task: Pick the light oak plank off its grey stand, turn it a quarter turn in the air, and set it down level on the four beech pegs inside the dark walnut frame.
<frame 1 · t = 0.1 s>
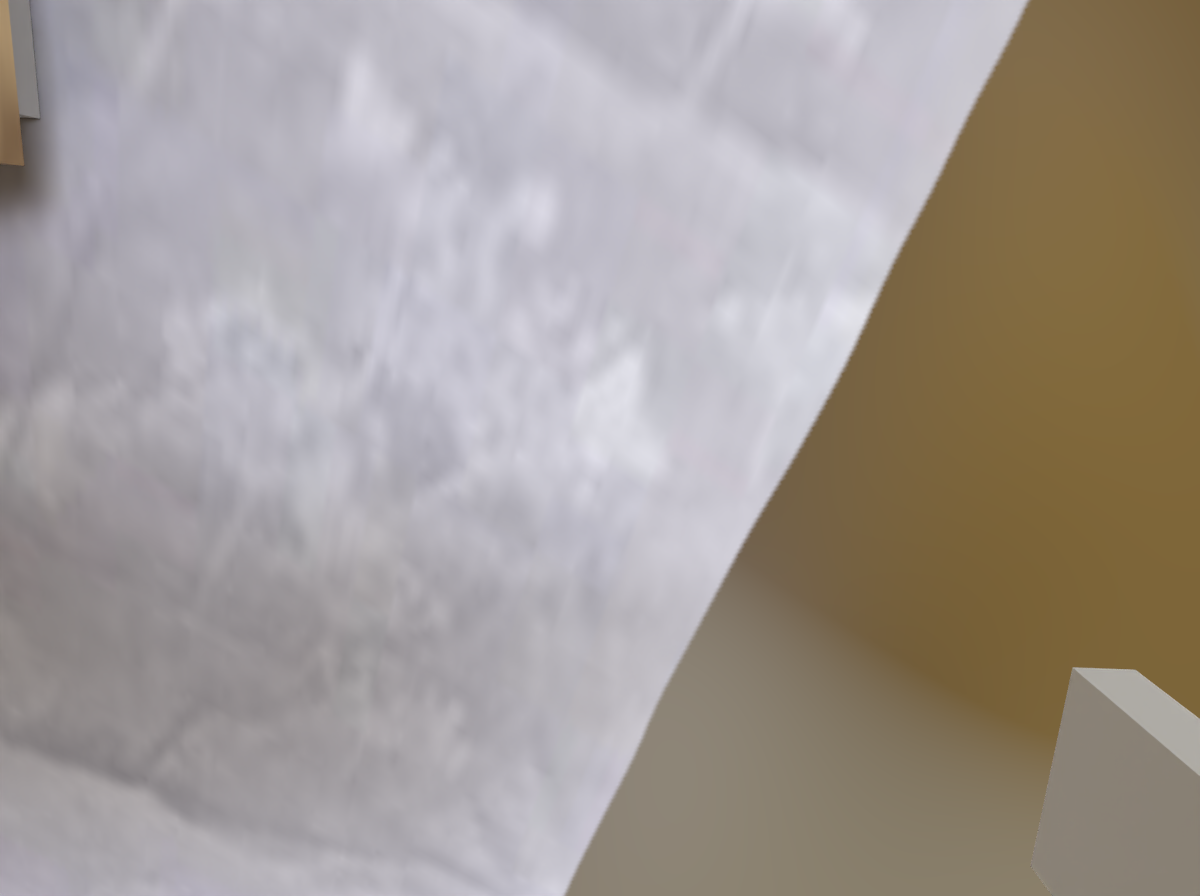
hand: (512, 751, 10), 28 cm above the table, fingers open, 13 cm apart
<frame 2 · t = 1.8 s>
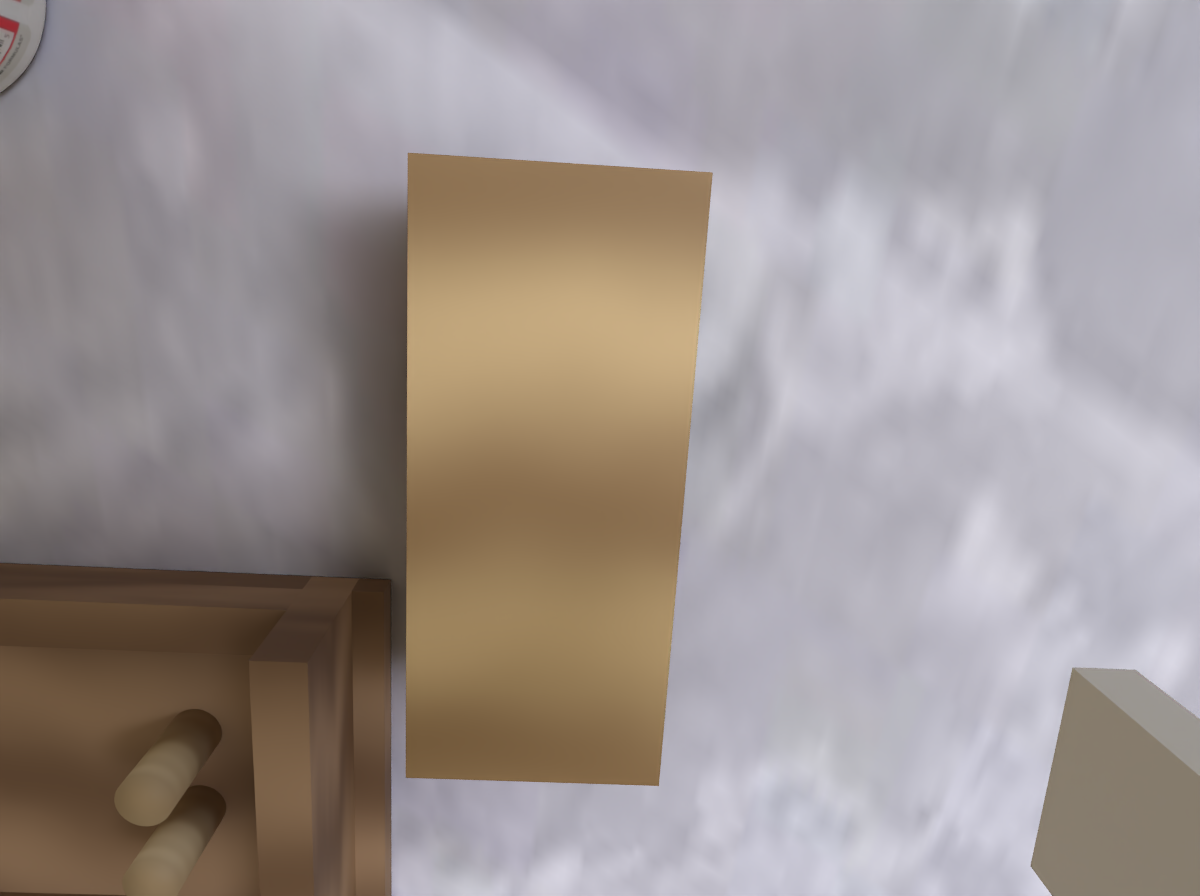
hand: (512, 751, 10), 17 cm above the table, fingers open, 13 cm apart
plank: (550, 454, 22), point 4 cm above the table, touching stand
peg frame: (59, 745, 28), on the table
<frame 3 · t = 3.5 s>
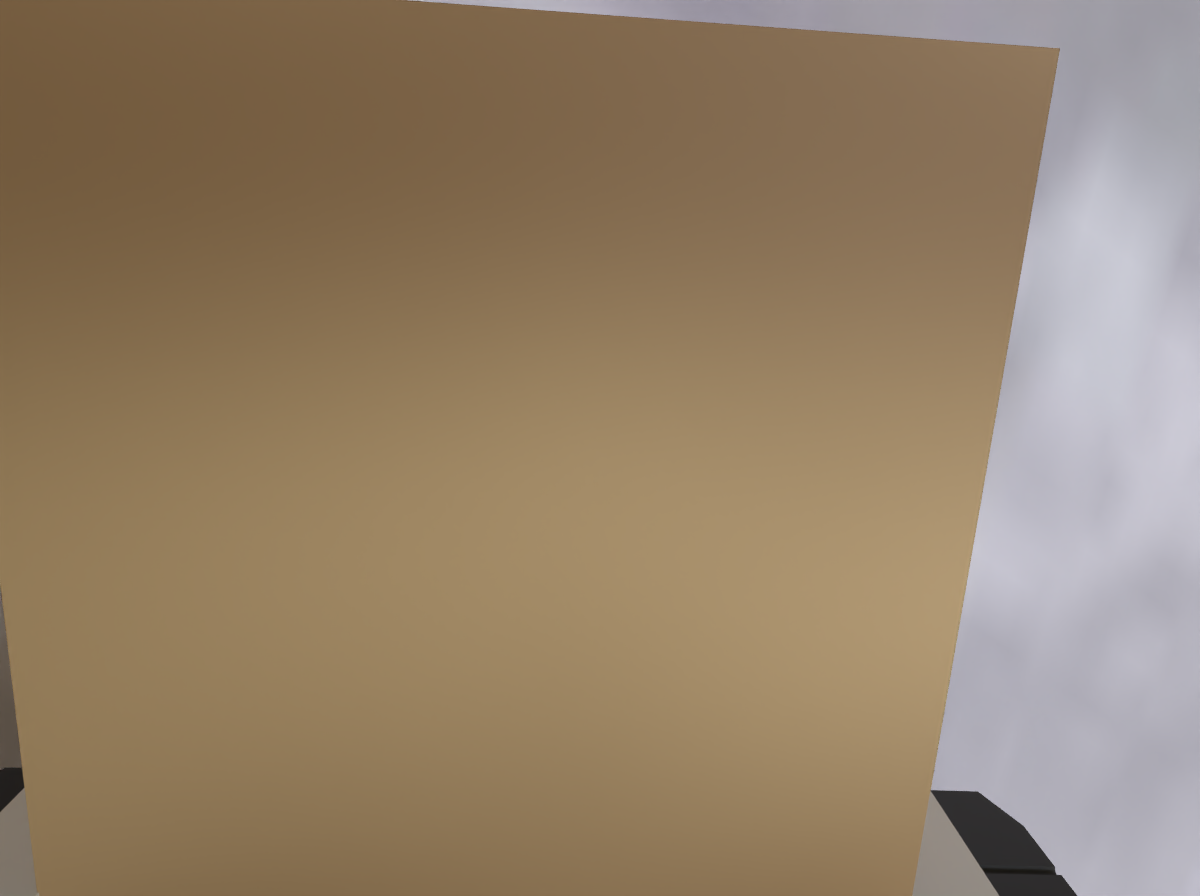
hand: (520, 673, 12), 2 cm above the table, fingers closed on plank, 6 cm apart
plank: (513, 740, 10), point 4 cm above the table, touching gripper, stand
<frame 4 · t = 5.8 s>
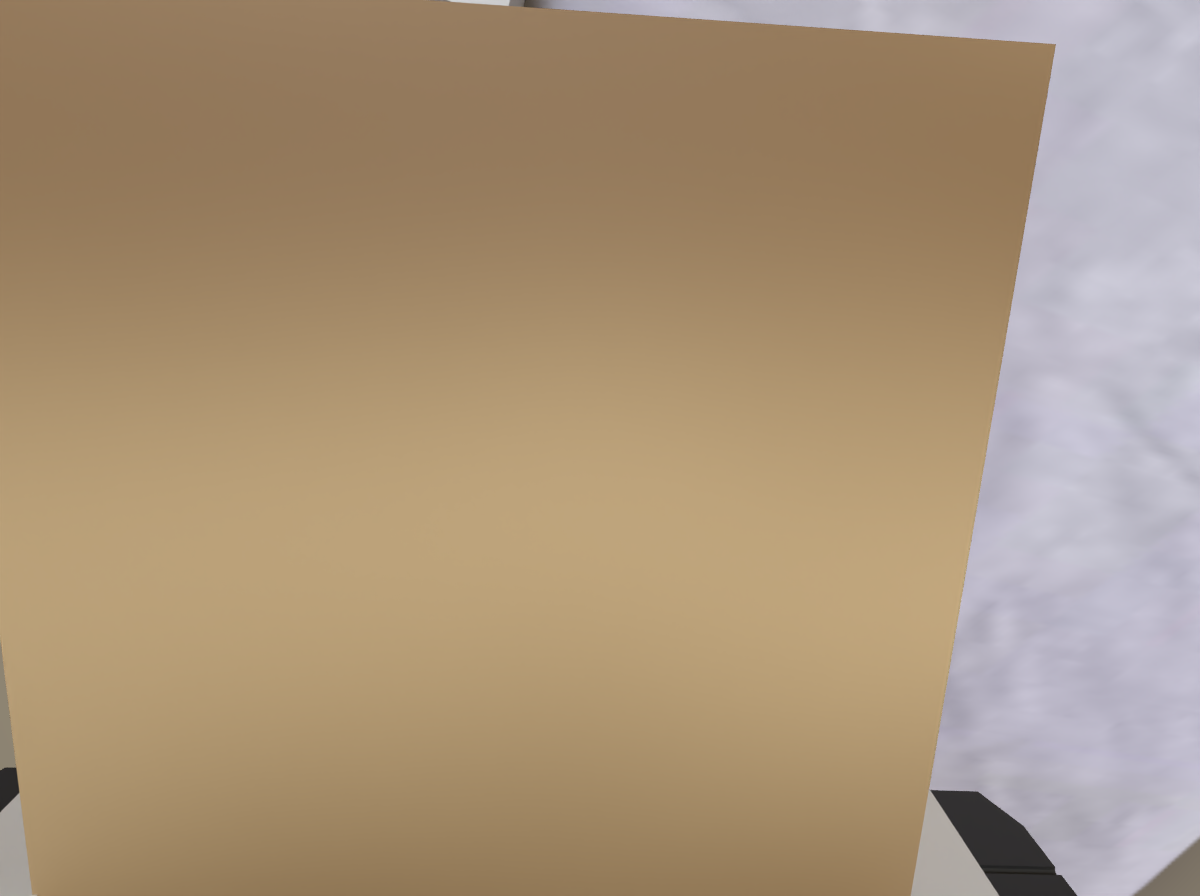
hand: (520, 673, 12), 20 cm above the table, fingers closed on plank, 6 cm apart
plank: (512, 741, 10), point 21 cm above the table, touching gripper
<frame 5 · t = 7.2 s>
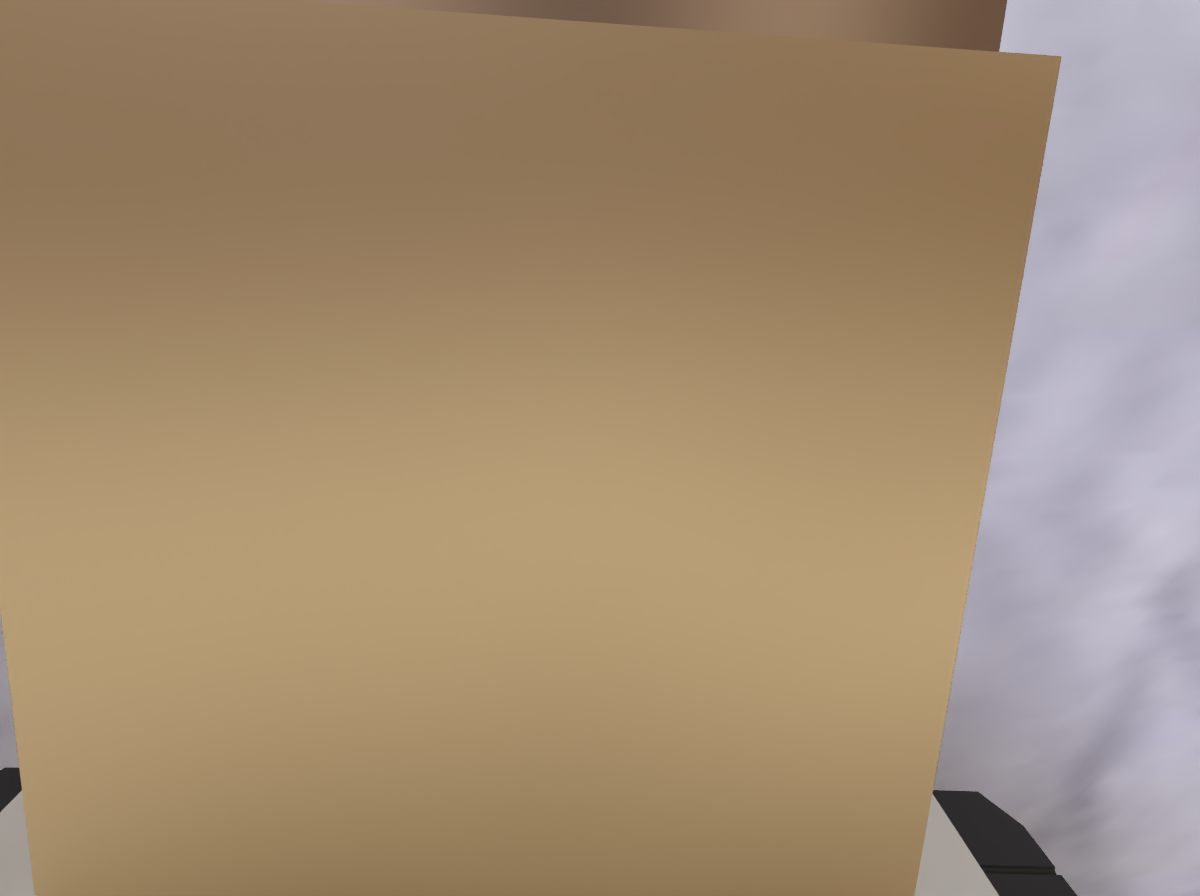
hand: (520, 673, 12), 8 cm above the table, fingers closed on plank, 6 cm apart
plank: (513, 745, 10), point 10 cm above the table, touching gripper
peg frame: (538, 496, 19), on the table
when the fingers open (5 cm above the table, at t = 8.2 s): plank drops 2 cm, resting on peg frame.
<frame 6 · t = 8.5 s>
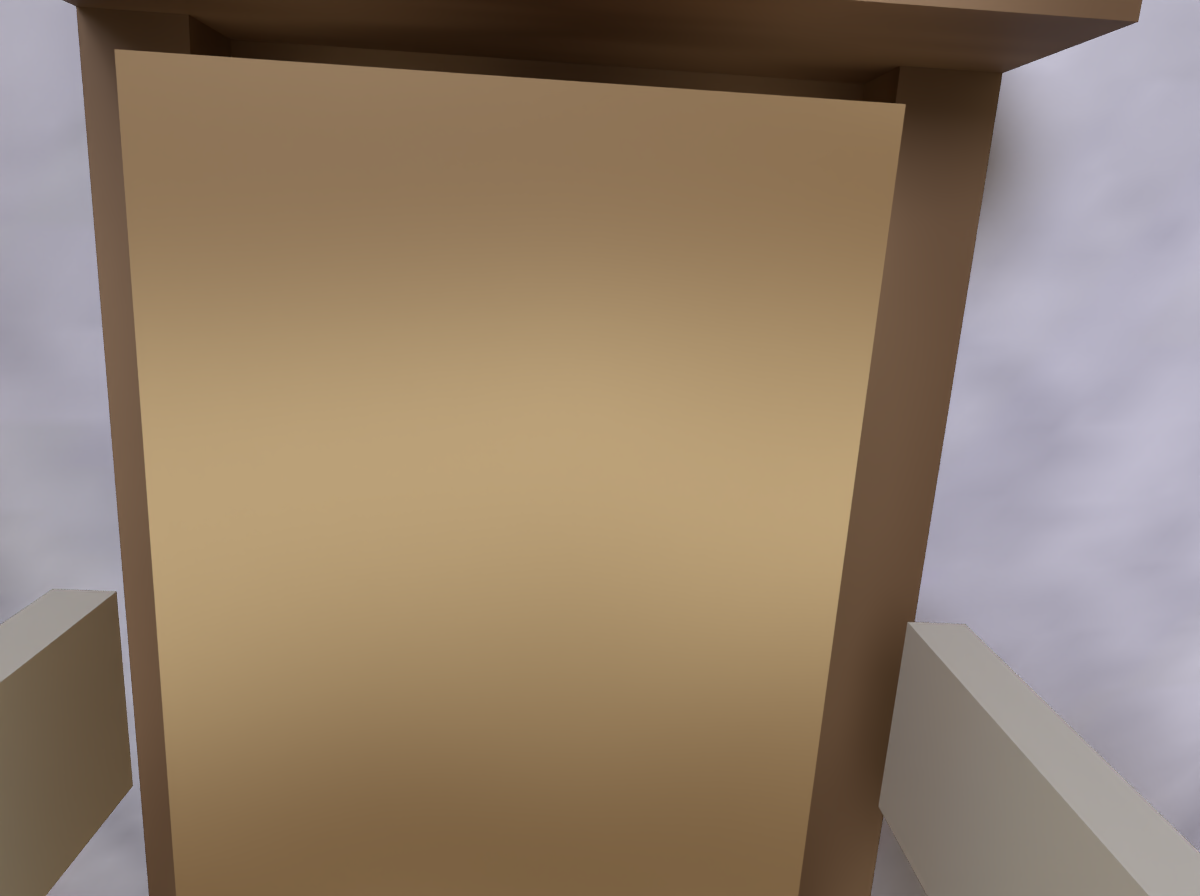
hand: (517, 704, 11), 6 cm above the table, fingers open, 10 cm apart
plank: (517, 659, 12), point 4 cm above the table, touching peg frame
peg frame: (534, 546, 16), on the table
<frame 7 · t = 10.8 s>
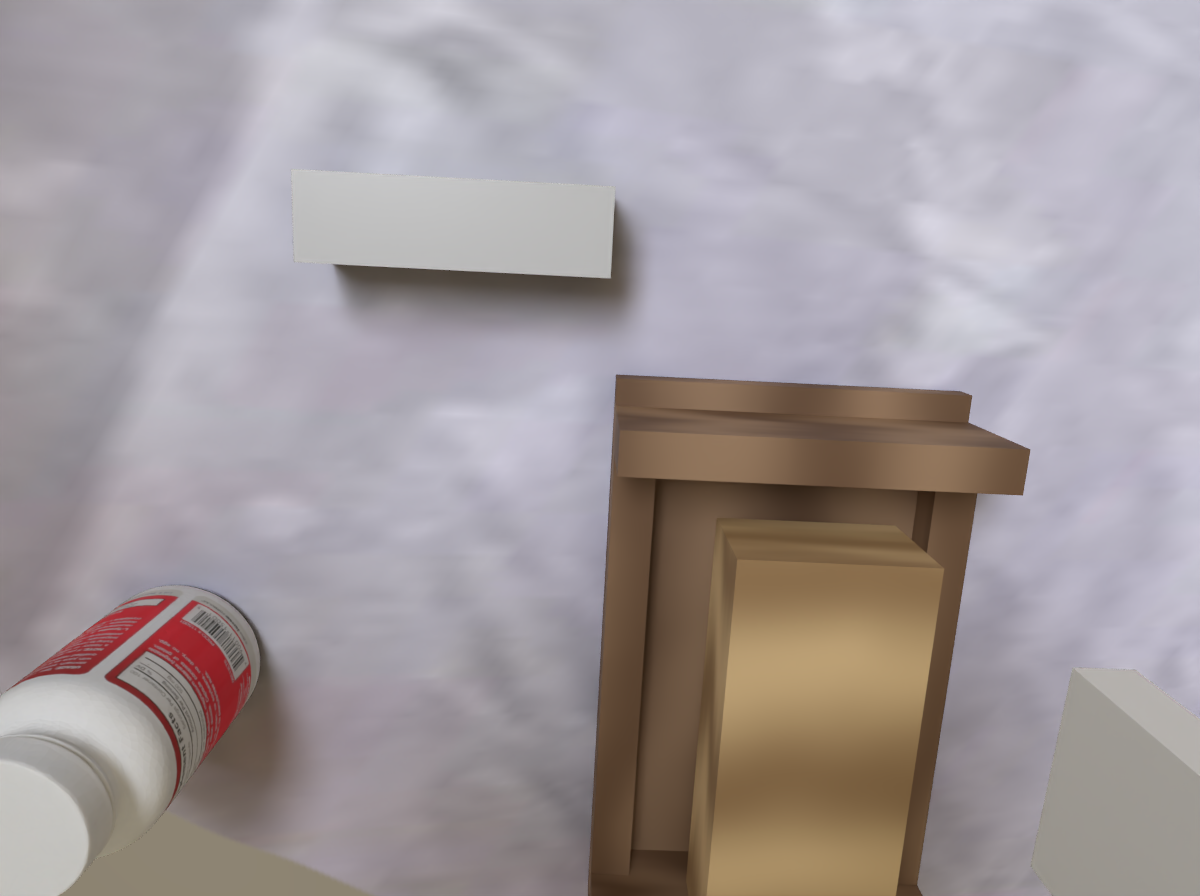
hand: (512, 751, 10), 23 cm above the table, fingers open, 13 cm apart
pill bottle: (190, 650, 34), on the table
plank: (785, 711, 30), point 4 cm above the table, touching peg frame
peg frame: (762, 653, 34), on the table
stand: (470, 228, 30), on the table
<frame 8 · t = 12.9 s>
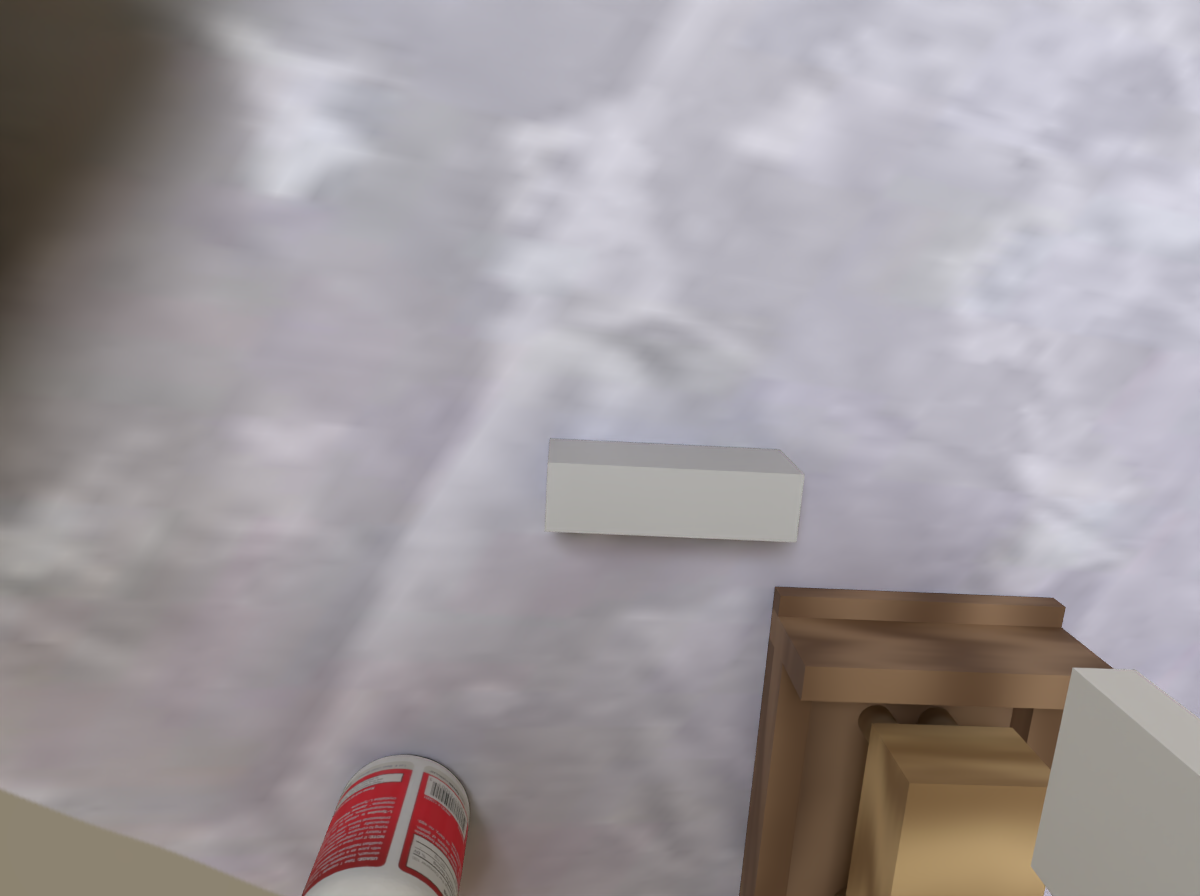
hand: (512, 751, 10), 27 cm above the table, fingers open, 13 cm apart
pill bottle: (408, 803, 41), on the table
plank: (917, 867, 37), point 4 cm above the table, touching peg frame
peg frame: (882, 801, 41), on the table
stand: (663, 475, 37), on the table
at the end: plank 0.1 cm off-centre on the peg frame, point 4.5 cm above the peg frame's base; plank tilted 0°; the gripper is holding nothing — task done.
